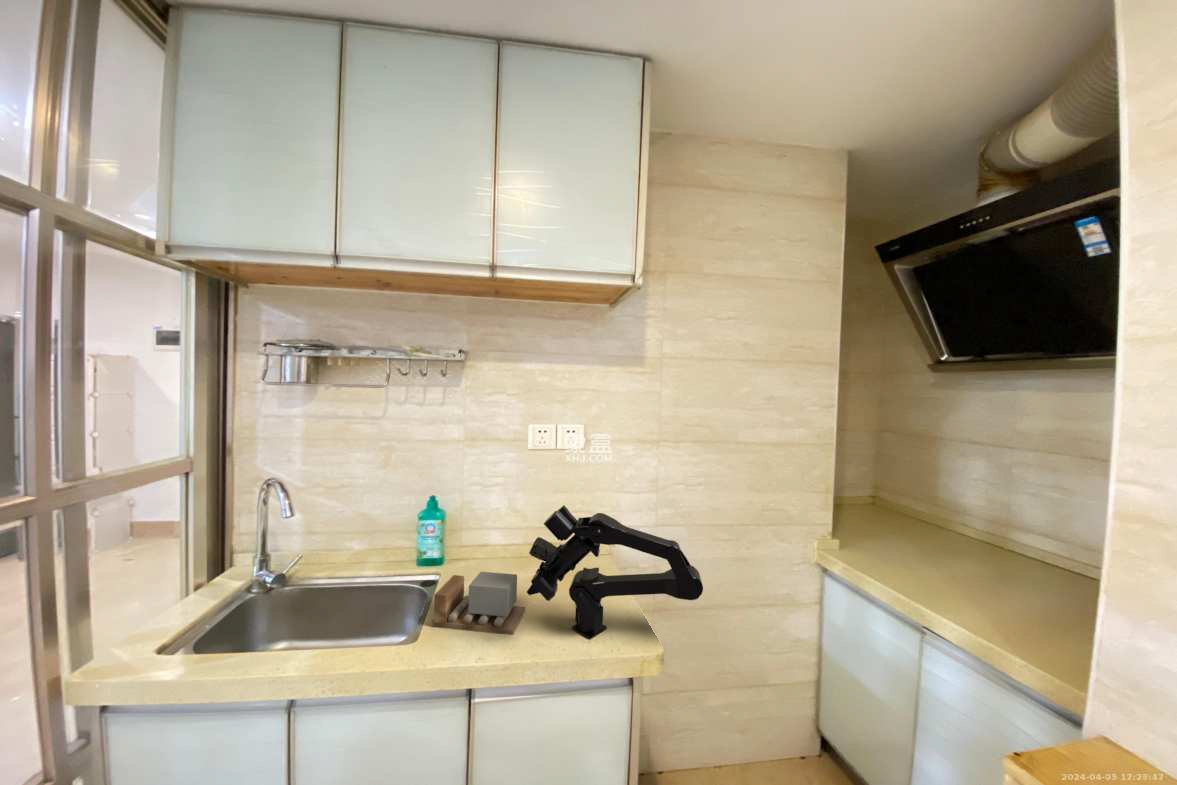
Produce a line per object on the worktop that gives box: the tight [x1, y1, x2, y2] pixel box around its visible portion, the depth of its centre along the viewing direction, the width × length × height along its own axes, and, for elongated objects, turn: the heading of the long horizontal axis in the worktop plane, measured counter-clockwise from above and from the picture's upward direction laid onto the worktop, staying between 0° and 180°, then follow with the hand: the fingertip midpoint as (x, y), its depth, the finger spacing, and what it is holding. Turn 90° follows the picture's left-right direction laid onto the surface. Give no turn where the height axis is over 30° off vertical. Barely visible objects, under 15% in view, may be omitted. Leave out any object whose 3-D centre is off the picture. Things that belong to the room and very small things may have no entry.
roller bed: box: [430, 574, 526, 636], centre depth 114 cm, size 21×11×8 cm, turn 82°
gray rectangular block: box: [468, 571, 518, 617], centre depth 113 cm, size 10×8×7 cm
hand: (528, 593), depth 112 cm, fingers closed
